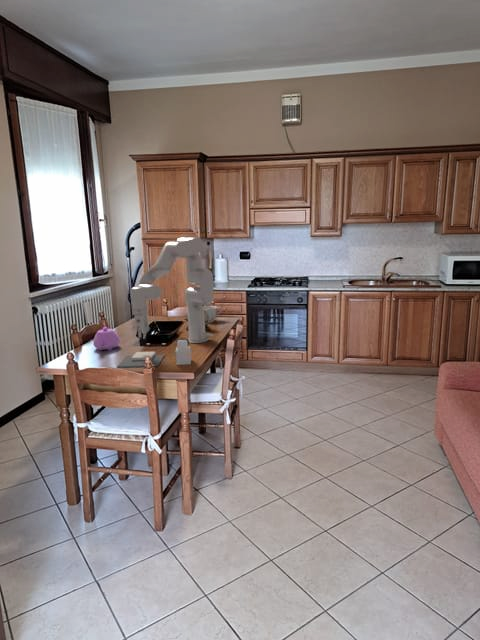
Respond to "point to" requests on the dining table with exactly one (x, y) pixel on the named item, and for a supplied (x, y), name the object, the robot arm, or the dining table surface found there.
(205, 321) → the owl figurine
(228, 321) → the dining table surface
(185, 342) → the medicine bottle
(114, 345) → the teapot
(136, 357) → the tile
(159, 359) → the mat
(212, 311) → the teacup
